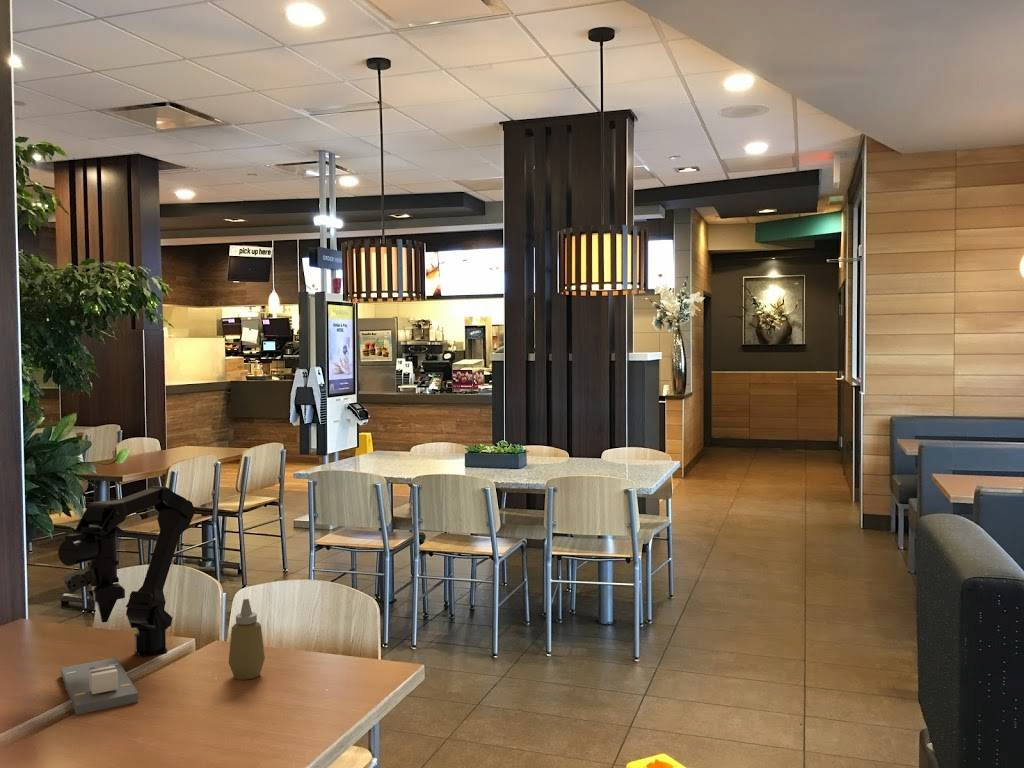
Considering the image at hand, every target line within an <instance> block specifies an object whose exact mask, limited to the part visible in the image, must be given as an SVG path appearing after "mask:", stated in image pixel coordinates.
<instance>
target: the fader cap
mask: <svg viewBox="0 0 1024 768" xmlns="http://www.w3.org/2000/svg"><path fill="white" fill-rule="evenodd" d="M89 685H90V690H91V692H92V694H97V693H102V692H107V691H112V690H117V689H118V671H117V669H116V667H115V666H109V667H103V668H98V669H93V670H89Z"/></svg>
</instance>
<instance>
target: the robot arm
mask: <svg viewBox="0 0 1024 768" xmlns="http://www.w3.org/2000/svg"><path fill="white" fill-rule="evenodd" d="M149 508H152V509H153V510H155V511H156V512H157V513H158V515H157V524H158V527H159V534H158V536H157V539H156V543H155V546H154V548H153V549H154V550H153V552H152V555H151V559H150V561H149V565H148V568H147V572H146V574H145V577H144V580H143V584H142V585H141V587H140V588H139V589H138V590H136V591H135V590H132V591H131V592H130V594H129V599H128V602H127V604H126V605H125V608H126V611H125V616H127V620H128V623H129V625H130V628H132V629H136V633H135V634H134V639H133V640H134V651H135V652H136V653H137V654H138V656H139V655H140V656H143V657H145V656H144V655H148V656H152V655H151V654H154V655H156V654H155V653H159V654H161V653H160V652H164V653H167V652H168V648H166V646H167V642H166V630H168V628H170V627H171V626H172V622H173V617H172V615H170V614H169V613H168V612H167V611H166V610H165V609H166V608H165V607H166V598H165V594H164V588H165V585H166V581H167V579H168V575H169V570H170V568H171V565H172V563H173V558H174V555H175V553H176V549H177V546H178V542H179V540H180V536H181V535H182V533H184V532H185V531H186V530H187V529H188V528H189V527H190V524H191V522H192V520H193V518H194V515H195V510H196V508H195V507H194V504H193V502H192V501H190V500H188V499H186V497H183V496H182V495H180V494H177V493H175V492H174V491H172V490H171V489H170V488H169V487H167V486H157V485H153V486H150V487H148V488H147V489H144V490H141V491H139V492H136V493H133V494H130V495H127V496H124V497H122V498H119V499H115V500H113V499H112V500H100V501H93V502H90V503H89V504H88V505H86V509H85V510H84V513H83V515H82V516H81V518H80V520H79V522H78V524H77V526H76V528H75V529H74V534H67V535H65V536H64V538H65V540H64V541H63V542H61V543H60V546H58V547H59V548H58V550H57V555H58V559H59V560H60V562H61V563H62V564H63V565H64V566H67V567H69V566H70V567H71V566H75V565H78V564H82V563H86V567H83V568H81V569H79V570H76V571H74V572H72V573H69V574H68V575H65V576H63V577H62V582H63V584H64V585H65V589H66V590H67V592H68V593H69V594H73V593H75V592H77V591H78V590H80V589H82V588H84V587H85V588H88V587H89V586H90V587H91V590H88V591H87V593H88V594H89V596H90V597H91V599H92V600H93V601H94V602H95V603H96V605H97V609H98V613H99V616H100V621H101V622H102V623H107V622H108V621H109V619H110V616H111V613H112V612H113V609H114V607H115V605H116V603H117V601H118V600H121V599H125V598H126V589H125V587H123V585H121V584H120V582H119V581H120V578H119V577H118V566H119V560H118V557H117V556H118V554H117V553H118V552H117V551H118V550H117V548H118V547H117V546H118V545H117V535H122V534H124V532H125V531H124V529H121V528H120V527H119V525H120V524H122V523H123V522H125V520H126V518H127V517H129V516H130V515H133V514H135V513H138V512H141V511H143V510H146V509H149ZM166 651H167V652H166ZM140 656H139V657H140Z"/></svg>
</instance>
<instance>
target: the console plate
mask: <svg viewBox="0 0 1024 768" xmlns="http://www.w3.org/2000/svg"><path fill="white" fill-rule="evenodd" d="M109 666H115V667H116V669H117V671H118V689H117V690H112V691H107V692H102V693H97V694H92V692H91V690H90V685H89V670H93V669H98V668H103V667H109ZM61 676H62V678H63V680H62V682H63V681H64V683H65V685H64V687H65V686H66V688H67V690H66V692H67V691H68V693H69V695H68V697H69V696H70V698H71V700H70V702H71V701H72V703H71V705H72V707H73V711H74V713H75V716H79V715H84V714H89V713H93V712H97V711H101V710H102V711H103V710H106V709H107V710H108V709H111V708H112V709H113V708H115V707H121V706H122V707H123V706H126V705H130V704H136V703H139V691H138V690H137V688H136V687H135V684H134V683H133V681H132V680H131V678H130V677H129V676H128V674H127V672H126V671H125V669H124V667H123V666H122V663H121V662H120V660H119V659H118V658H117V657H114V658H107V659H102V660H96V661H91V662H85V663H80V664H74V665H70V666H63V667H60V677H61ZM62 678H61V679H62ZM64 683H63V684H64ZM66 688H65V689H66ZM68 693H67V694H68ZM70 698H69V699H70Z"/></svg>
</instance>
